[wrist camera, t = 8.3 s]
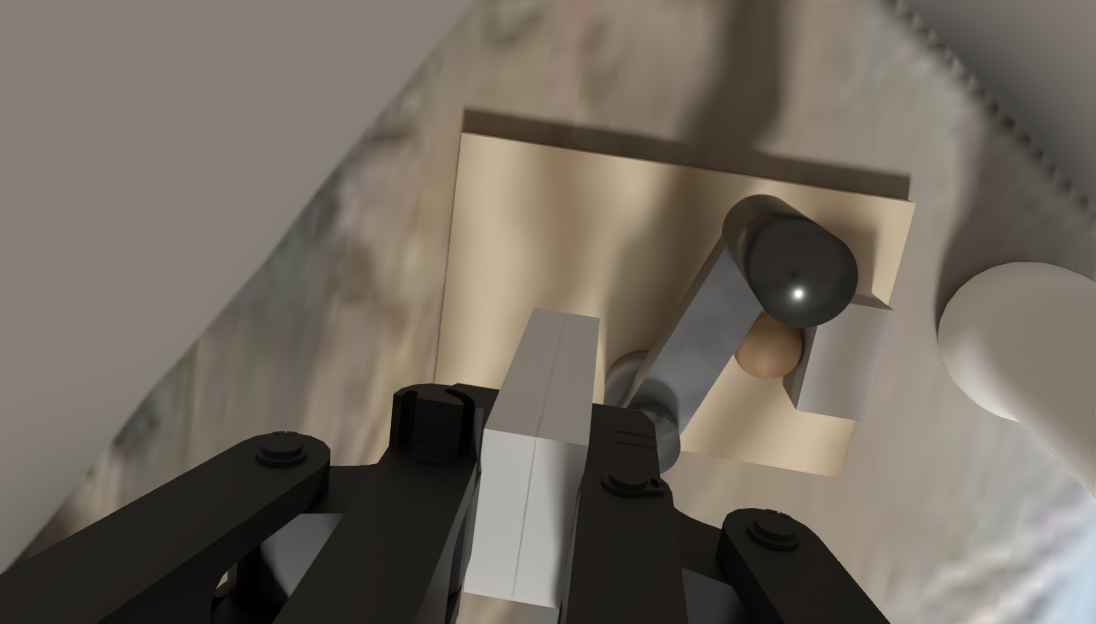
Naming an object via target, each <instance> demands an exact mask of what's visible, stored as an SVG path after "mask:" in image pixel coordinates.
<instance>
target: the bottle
mask: <svg viewBox="0 0 1096 624" xmlns="http://www.w3.org/2000/svg"><path fill="white" fill-rule="evenodd" d="M938 345H939V351H940V357H941V359H942V361H943V363H944V365H945V366H946V368H947V370H948V372H949V374H950V376H951V378H952V380H953V381H954V382H955V383H956V384H957V385H958V386H959V387H960V388H961V389H962V390H963V391H964V392H965V393H966V394H967V395H968V396H969V397H970V398H971V399H972V400H973V401H975V402H976V403H977V404H978V405H979V406H981V407H983V408H985V409H986V410H988V411H990V412H992V413H993V414H995V415H997V416H1000V417H1003V418H1007V419H1010V420H1014V421H1018V422H1020V423H1021V424H1022V425H1023V426H1025V427H1026V428H1027V429H1028V430H1029V431H1030V432H1031V433H1032V434H1033V435H1034V437H1035V438H1036V439H1037V440H1038V441H1039V442H1040V443H1041V444H1042V445H1043V446H1044V447H1045V448H1046V449H1047V450H1048V451H1049V452H1050V453H1051V454H1052V455H1053V456H1054V457H1055V458H1056V459H1057V460H1058V461H1059V462H1060V463H1061V464H1062V465H1063V466H1064V467H1065V468H1066V469H1067V470H1068V471H1069V472H1070V473H1071V474H1072V475H1073V476H1074V477H1075V478H1076V479H1077V480H1078V481H1079V482H1080V483H1081V484H1082V485H1083V486H1084V487H1085V488H1086V489H1087V490H1088V491H1089V492H1090V493H1091V494H1092V495H1093V496H1094V497H1095V498H1096V283H1095V282H1093V281H1092V280H1090V279H1088V278H1087V277H1085V276H1083V275H1081V274H1078V273H1076V272H1073V271H1071V270H1068V269H1066V268H1062V267H1058V266H1054V265H1051V264H1047V263H1037V262H1012V263H1007V264H1003V265H999V266H995V267H992V268H990V269H988V270H986V271H984V272H982V273H980V274H978V275H976V276H974V277H973V278H971V279H970V280H969V281H968V282H967V283H965V284H964V285H963V286H962V287H961V288H959V289H958V291H957V292H956V293H955V295H954V296H953V297H952V299H951V300H950V301H949V302H948V304H947V306H946V308H945V310H944V313H943V315H942V317H941V320H940V323H939V331H938Z"/></svg>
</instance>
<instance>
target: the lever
mask: <svg viewBox="0 0 1096 624" xmlns="http://www.w3.org/2000/svg"><path fill="white" fill-rule="evenodd" d="M857 284H858V267H857V263H856V260H855V257H854V255H853V253H852V252H851V250H850V249H849V247H848V246H847V245H846V244H845V243H844V242H843V241H842V240H840V239H839V238H838V237H836V236H835V235H833V234H832V233H830V232H829V231H827V230H826V229H824V228H823V227H821V226H820V225H818V224H817V223H815V222H814V221H813V220H811V219H810V218H808V217H807V216H805V215H804V214H802V213H801V212H799V211H798V210H796V209H795V208H793V207H792V206H790V205H789V204H788V203H786V202H785V201H783V200H782V199H780V198H778V197H775V196H772V195H768V194H756V195H751V196H748V197H746V198H744V199H742V200H740V201H739V202H737V203H736V204H735V205H734V206H733V207H732V208H731V209H730V210H729V212H728V213H727V215H726V217H725V219H724V222H723V226H722V235H721V236H720V238H719V240H718V241H717V243H716V244H715V246H714V248H713V249H712V251H711V253H710V254H709V256H708V258H707V259H706V261H705V262H704V264H703V266H702V267H701V269H700V271H699V272H698V274H697V275H696V277H695V279H694V280H693V282H692V284H691V285H690V287H689V288H688V290H687V292H686V293H685V295H684V297H683V298H682V300H681V301H680V303H679V305H678V306H677V308H676V310H675V311H674V313H673V315H672V316H671V318H670V319H669V321H668V323H667V324H666V326H665V328H664V329H663V331H662V332H661V334H660V336H659V337H658V339H657V341H656V342H655V344H654V345H653V347H652V349H651V350H650V352H649V354H648V355H647V357H646V358H645V360H644V362H643V363H642V365H641V367H640V368H639V370H638V372H637V373H636V375H635V376H634V378H633V380H632V381H631V383H630V385H629V386H628V388H627V389H626V391H625V393H624V394H623V396H622V398H621V399H620V401H619V402H618V404H617V406H616V407H621V408H627V409H633V410H639V411H643V412H644V413H645V414H646V415H647V416H648V417H649V418H650V420H651V421H652V422H653V423H654V424H655V431H656V440H657V450H658V459H659V469H660V474H661V473H663V472H665V471H667V470H668V469H670V468H671V467H672V466H673V465H674V463H675V462H676V461H677V459H678V457H679V454H680V449H681V443H680V435H681V434H682V432H683V431H684V429H685V428H686V426H687V425H688V423H689V421H690V420H691V418H692V417H693V415H694V414H695V412H696V411H697V409H698V408H699V406H700V405H701V403H702V402H703V400H704V398H705V397H706V395H707V394H708V392H709V391H710V389H711V388H712V386H713V385H714V384H715V382H716V380H717V379H718V377H719V376H720V374H721V373H722V371H723V370H724V368H725V367H726V365H727V364H728V362H729V361H730V359H731V357H732V356H733V354H734V353H735V351H736V350H737V348H738V347H739V345H740V344H741V342H742V341H743V339H744V337H745V336H746V334H747V333H748V331H749V330H750V328H751V326H752V325H753V323H754V322H755V320H756V319H757V317H758V316H759V314H760V313H761V311H762V310H763V309H764V310H765V311H766V312H767V313H768V314H769V315H770V316H771V317H772V318H774V319H775V320H777V321H778V322H780V323H783V324H785V325H788V326H792V327H800V328H806V327H814V326H818V325H821V324H824V323H826V322H828V321H830V320H832V319H834V318H835V317H837V316H838V315H839V314H840V313H841V312H842V311H843V310H844V309H845V308H846V307H847V306H848V305H849V303H850V302H851V300H852V298H853V296H854V294H855V291H856V288H857Z"/></svg>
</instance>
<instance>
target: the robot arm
mask: <svg viewBox="0 0 1096 624" xmlns="http://www.w3.org/2000/svg"><path fill="white" fill-rule="evenodd" d="M599 325H600V318H596V317H590V316H583V315H577V314H571V313H564V312H558V311H552V310H546V309H539V308H534V309H533V311H532V314H531V316H530V318H529V321H528V323H527V326H526V328H525V331H524V333H523V335H522V338H521V340H520V343H519V345H518V348H517V350H516V352H515V355H514V357H513V360H512V362H511V365H510V367H509V369H508V372H507V374H506V377H505V379H504V382H503V384H502V386H501V389H500V390H499V389H493V388H486V387H480V386H474V385H468V384H462V383H456V384H454V385H452V386H451V385H443V384H432V383H430V384H416V385H412V386H408V387H404V388H401V389H400V390H399V391H397V392H396V393H394V395H393V407H392V418H391V429H390V441H389V447H388V448H387V450H386V451H385V453H384V454H383V456H382V457H381V459H380V460H379V462H378V463H376V464H371V465H361V466H330V449H329V447H328V446H327V445H326V444H325V443H324V442H323V441H321V440H318V439H316V438H314V437H312V436H308V435H303V434H299V433H297V432H289V431H287V433H285V431H279V432H273V433H270V434H264V435H258V436H255V437H252V438H250V439H247V440H245V441H242V442H240V443H239V444H237V445H235V446H233V447H231V448H229V449H228V450H226V451H224V452H222V453H220V454H219V455H217V456H215V457H213V458H211V459H209V460H208V461H206V462H204V463H202V464H200V465H199V466H197V467H195V468H193V469H191V470H190V471H188V472H186V473H184V474H182V475H180V476H179V477H177V478H175V479H173V480H171V481H170V482H168V483H166V484H164V485H162V486H160V487H159V488H157V489H155V490H153V491H151V492H150V493H148V494H146V495H144V496H142V497H141V498H139V499H137V500H135V501H133V502H131V503H130V504H128V505H126V506H124V507H122V508H121V509H119V510H117V511H115V512H113V513H111V514H110V515H108V516H106V517H104V518H102V519H101V520H99V521H97V522H95V523H93V524H92V525H90V526H88V527H86V528H84V529H82V530H81V531H79V532H77V533H75V534H73V535H72V536H70V537H68V538H66V539H64V540H62V541H61V542H59V543H57V544H55V545H53V546H52V547H50V548H48V549H46V550H44V551H43V552H41V553H39V554H37V555H35V556H33V557H32V558H30V559H28V560H26V561H24V562H23V563H21V564H19V565H17V566H15V567H13V568H12V569H10V570H8V571H6V572H4V573H3V574H1V575H0V624H455V623H456V619H457V616H458V613H459V605H460V597H461V589H462V583H463V580H464V576H465V573H466V578H465V585H464V592H467V593H473V594H478V595H484V596H490V597H495V598H501V599H507V600H512V601H518V602H523V603H529V604H535V605H540V606H546V607H552V608H557V609H559V615H558V621H557V624H890V622H889V621H888V620H887V619H886V618H885V616H884V615H883V614H882V613H881V612H880V610H879V609H878V608H877V607H876V606H875V604H874V603H873V602H872V601H871V600H870V598H869V597H868V596H867V595H866V594H865V592H864V591H863V590H862V589H861V588H860V586H859V585H858V584H857V583H856V582H855V580H854V579H853V578H852V577H851V575H850V574H849V573H848V572H847V571H846V569H845V568H844V567H843V566H842V565H841V563H840V562H839V561H838V560H837V559H836V557H835V556H834V555H833V554H832V553H831V551H830V550H829V549H828V548H827V547H826V545H825V544H824V543H823V542H822V541H821V539H820V538H819V537H818V536H817V535H816V534H815V533H814V532H812V531H811V530H810V529H809V528H808V527H807V526H805V525H804V524H802V523H800V522H798V521H796V520H794V519H793V518H792V517H790V516H789V515H786V514H784V513H781V512H780V513H778V511H774V510H770V509H765V510H763V509H756V508H747V509H737V510H735V511H733V512H731V513H729V514H727V516H726V518H725V520H724V522H723V526H722V529H719V528H716V527H714V526H711V525H708V524H705V523H702V522H700V521H698V520H695V519H693V518H690V517H689V516H687V515H685V514H683V513H682V512H680V511H678V510H677V509H676V508H675V507H674V504H673V496H672V492H671V490H670V488H669V486H668V484H667V483H666V482H665V481H664V480H662V479H661V478H660V469H659V459H658V450H657V440H656V431H655V424H654V423H653V422H652V421H651V420H650V418H649V417H648V416H647V415H646V414H645V413H644V412H643V411H639V410H633V409H627V408H621V407H615V406H609V405H603V404H597V403H592V402H593V391H594V380H595V369H596V358H597V347H598V336H599ZM227 571H228V579H227V581H226V582H225V583H223V584H222V585H221V586H219V587H218V588H217V586H218V584H219V582H220V580H221V578H222V576H223V575H224V574H225V573H226V572H227ZM216 588H217V589H216Z"/></svg>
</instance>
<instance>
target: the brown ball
mask: <svg viewBox="0 0 1096 624" xmlns="http://www.w3.org/2000/svg"><path fill="white" fill-rule="evenodd" d="M802 350H803V341H802V337H801V333H800V331H799V329H798V328H797V327H792V326H788V325H785V324H783V323H780V322H778V321H777V320H775V319H774V318H772V317H771V316H770V315H769V314H768V313H767V312H766V311H763V312H761V313H760V314H759V316H758V317H757V319H756V320H755V322H754V323H753V325H752V326H751V328H750V330H749V331H748V333H747V334H746V336H745V337H744V339H743V341H742V342H741V344H740V345H739V347H738V348H737V350H736V351H735V353H734V357H735V359H736V361H737V363H738V364H739V366H740V367H741V368H742V369H743V370H744V371H745V372H747V373H748V374H750V375H752V376H754V377H757V378H760V379H776V378H779V377H782V376H784V375H786V374H788V373H789V372H790V371H792V370H793V369H794V368H795V366H796V365H797V364H798V362H799V360H800V358H801V355H802Z"/></svg>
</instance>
